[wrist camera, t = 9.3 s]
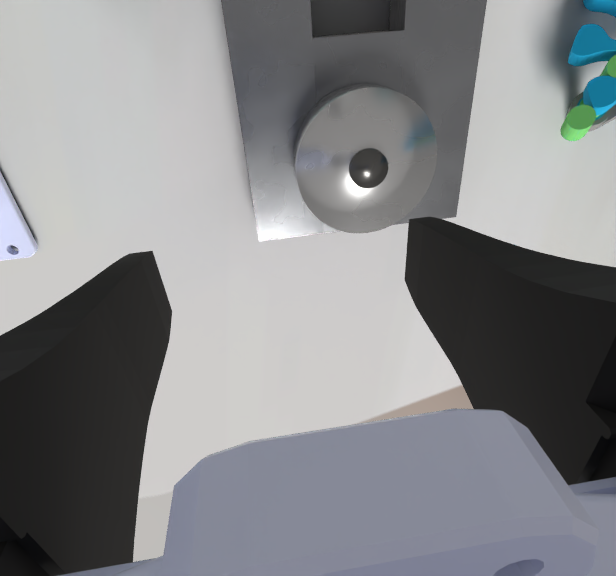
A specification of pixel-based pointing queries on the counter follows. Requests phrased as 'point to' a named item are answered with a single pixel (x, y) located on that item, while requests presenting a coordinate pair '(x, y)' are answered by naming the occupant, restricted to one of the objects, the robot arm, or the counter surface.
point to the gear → (601, 90)
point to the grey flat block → (353, 114)
